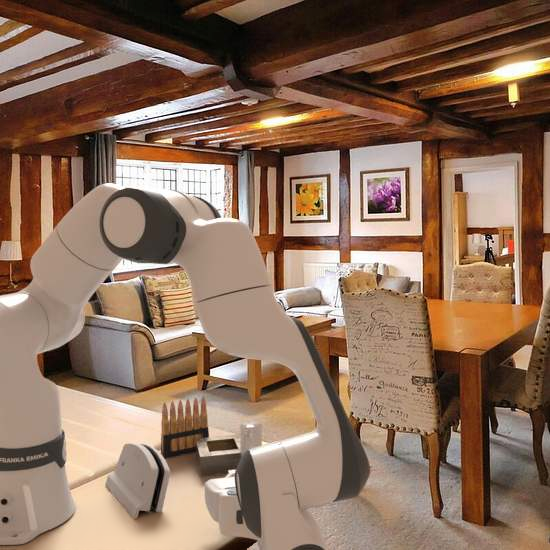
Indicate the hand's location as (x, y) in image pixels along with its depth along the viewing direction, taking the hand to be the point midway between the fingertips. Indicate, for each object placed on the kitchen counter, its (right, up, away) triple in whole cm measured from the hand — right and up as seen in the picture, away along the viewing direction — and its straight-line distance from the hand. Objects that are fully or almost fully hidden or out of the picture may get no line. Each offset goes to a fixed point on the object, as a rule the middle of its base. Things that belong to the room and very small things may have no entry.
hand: (258, 470), depth 101 cm
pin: (-1, -6, +8) cm, 10 cm away
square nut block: (-8, -5, +19) cm, 21 cm away
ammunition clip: (-17, -5, +25) cm, 30 cm away
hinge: (-22, -7, +5) cm, 24 cm away
